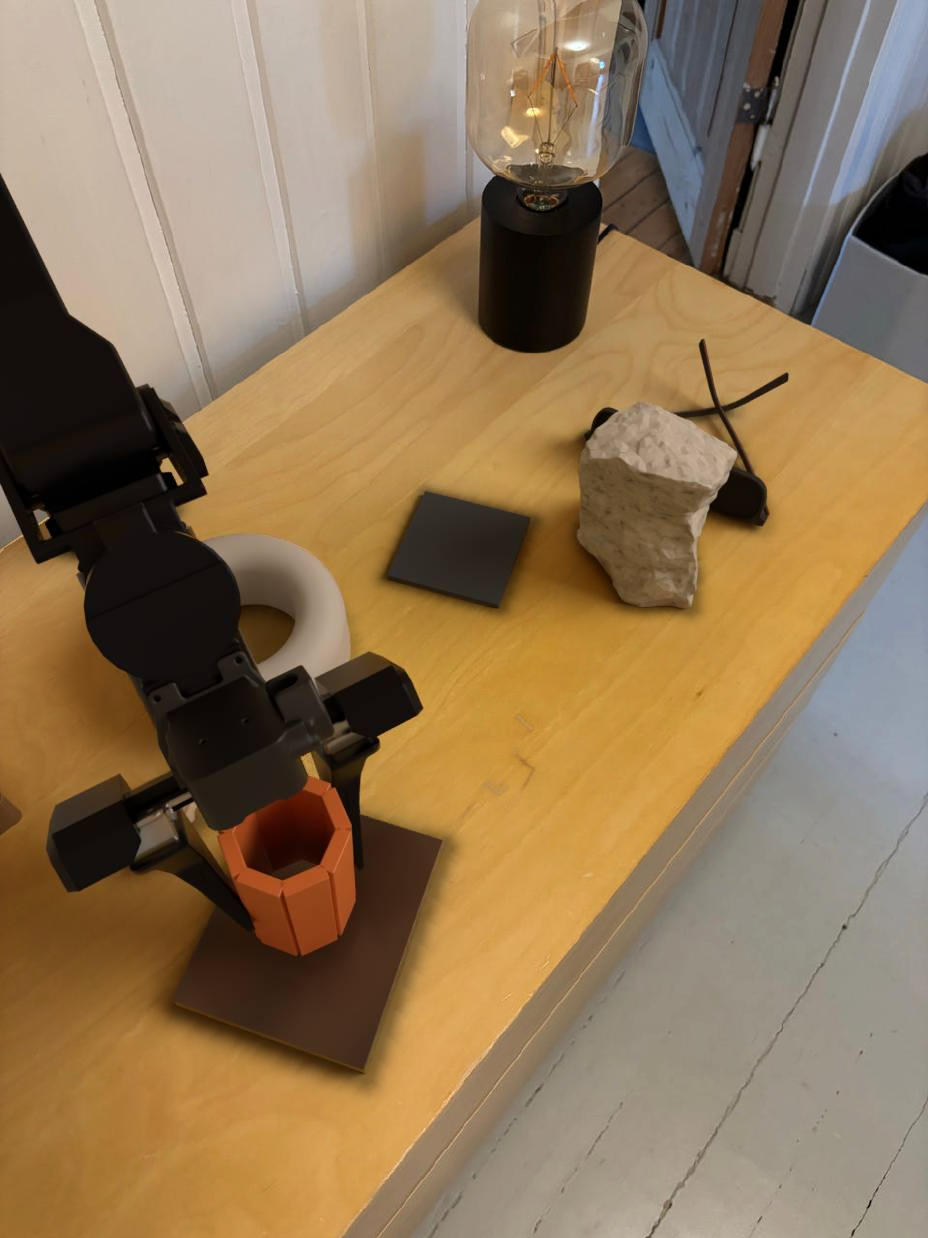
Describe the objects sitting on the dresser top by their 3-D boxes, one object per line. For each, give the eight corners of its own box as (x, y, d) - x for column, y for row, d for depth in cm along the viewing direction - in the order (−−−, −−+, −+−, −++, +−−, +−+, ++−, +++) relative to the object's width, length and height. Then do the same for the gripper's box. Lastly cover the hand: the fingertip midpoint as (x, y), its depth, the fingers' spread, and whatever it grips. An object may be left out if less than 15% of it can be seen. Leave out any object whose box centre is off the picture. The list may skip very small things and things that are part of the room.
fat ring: (321, 555, 74) (309, 500, 68) (378, 714, 66) (371, 667, 60) (129, 610, 71) (101, 557, 65) (166, 783, 63) (138, 741, 58)
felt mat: (387, 578, 73) (386, 575, 72) (425, 494, 77) (425, 490, 77) (498, 608, 71) (498, 605, 71) (530, 520, 76) (530, 516, 75)
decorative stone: (717, 537, 75) (766, 402, 63) (683, 625, 70) (730, 497, 58) (596, 497, 77) (621, 359, 65) (556, 580, 72) (575, 448, 60)
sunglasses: (828, 433, 81) (848, 390, 77) (754, 540, 75) (772, 499, 71) (657, 355, 86) (667, 311, 82) (575, 449, 80) (581, 406, 76)
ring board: (177, 1006, 56) (151, 985, 51) (274, 794, 63) (259, 760, 58) (366, 1074, 54) (357, 1059, 49) (444, 847, 61) (442, 816, 56)
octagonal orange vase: (230, 931, 54) (197, 867, 43) (276, 836, 57) (254, 755, 47) (327, 968, 53) (316, 912, 43) (368, 870, 56) (367, 796, 46)
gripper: (-39, 773, 36) (145, 1087, 40) (394, 570, 41) (517, 866, 45) (-9, 709, 46) (135, 964, 50) (334, 554, 51) (439, 796, 55)
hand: (306, 898), depth 50 cm, fingers closed on octagonal orange vase, 6 cm apart
